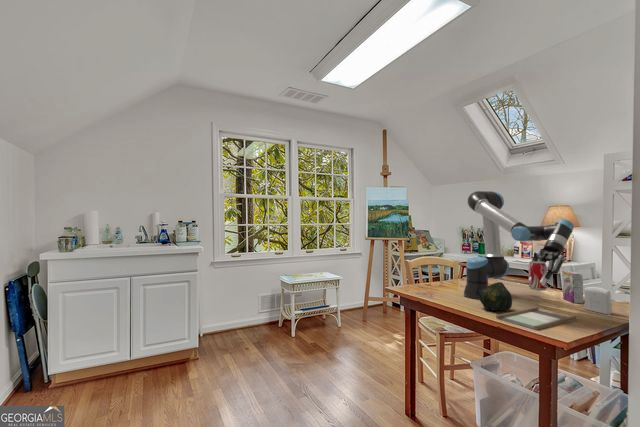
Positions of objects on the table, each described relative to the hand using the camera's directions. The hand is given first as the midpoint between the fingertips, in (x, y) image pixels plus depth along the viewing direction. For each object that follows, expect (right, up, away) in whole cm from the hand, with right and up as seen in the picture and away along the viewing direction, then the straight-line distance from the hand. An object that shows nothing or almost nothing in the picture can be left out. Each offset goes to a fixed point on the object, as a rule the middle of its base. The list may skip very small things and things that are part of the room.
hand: (536, 282), depth 147 cm
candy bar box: (+43, -18, +32) cm, 57 cm away
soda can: (+3, -4, +3) cm, 6 cm away
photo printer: (+39, -17, +11) cm, 44 cm away
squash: (-10, -18, +17) cm, 26 cm away
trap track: (0, -17, 0) cm, 17 cm away
